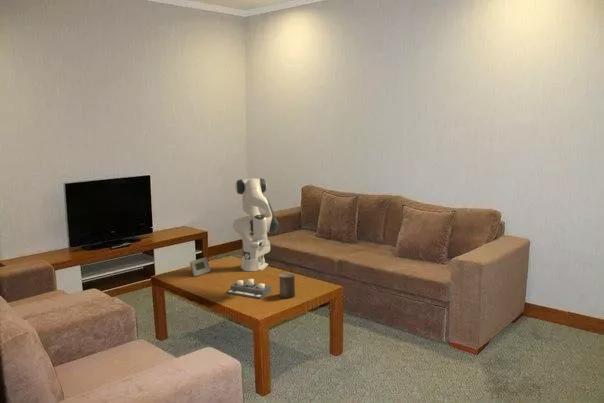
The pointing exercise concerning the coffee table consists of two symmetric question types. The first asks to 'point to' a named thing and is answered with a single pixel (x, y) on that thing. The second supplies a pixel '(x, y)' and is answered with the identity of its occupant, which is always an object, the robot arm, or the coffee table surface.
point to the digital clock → (200, 266)
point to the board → (249, 290)
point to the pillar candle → (287, 285)
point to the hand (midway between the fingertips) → (260, 262)
